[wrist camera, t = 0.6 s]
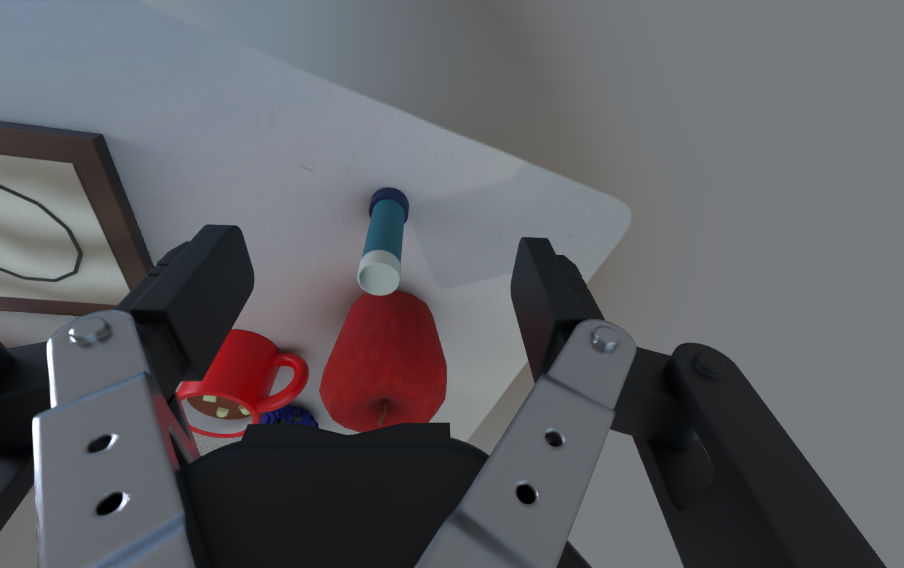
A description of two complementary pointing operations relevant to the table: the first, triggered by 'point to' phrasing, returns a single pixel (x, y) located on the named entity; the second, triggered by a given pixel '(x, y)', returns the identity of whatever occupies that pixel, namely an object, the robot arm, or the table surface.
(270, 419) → the ball
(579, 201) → the table surface
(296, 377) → the mug
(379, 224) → the dot marker
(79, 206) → the drawing board
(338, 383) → the apple
